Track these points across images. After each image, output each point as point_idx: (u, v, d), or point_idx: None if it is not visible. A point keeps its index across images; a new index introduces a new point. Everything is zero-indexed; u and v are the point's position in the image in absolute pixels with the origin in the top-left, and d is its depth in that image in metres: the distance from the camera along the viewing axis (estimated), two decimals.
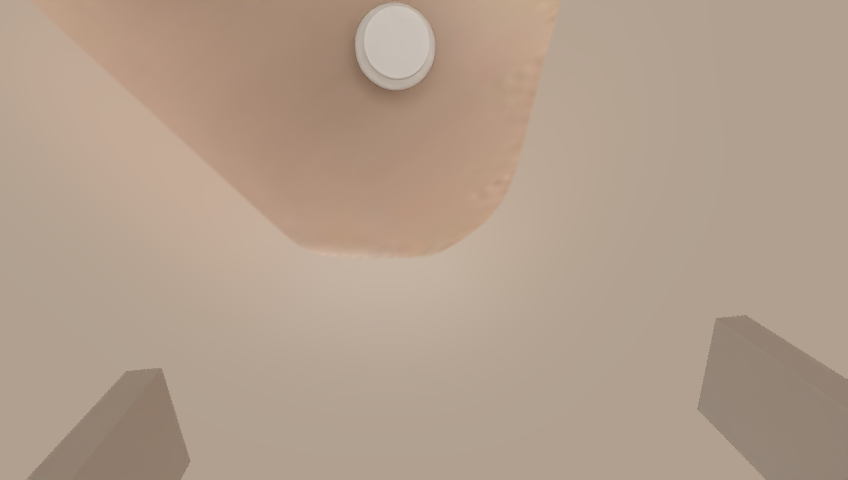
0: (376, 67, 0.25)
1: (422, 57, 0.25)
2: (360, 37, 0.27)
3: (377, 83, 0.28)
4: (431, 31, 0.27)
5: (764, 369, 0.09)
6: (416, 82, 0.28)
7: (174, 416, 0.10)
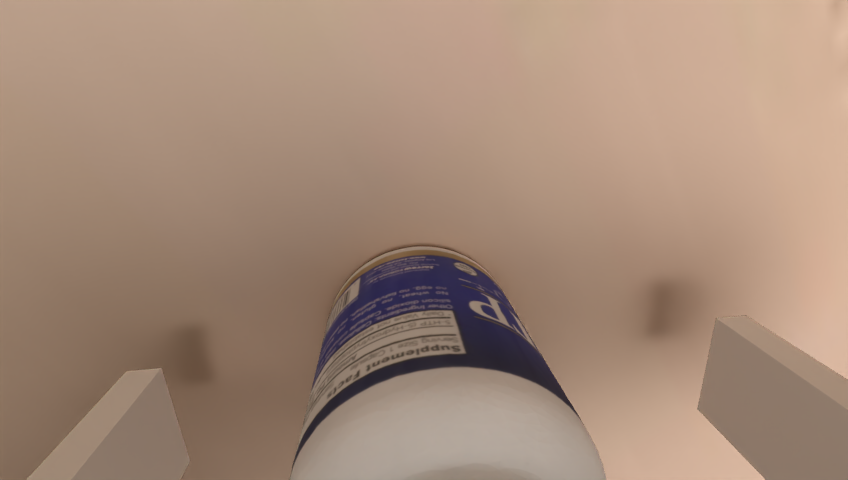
0: None
1: None
2: None
3: None
4: (393, 419, 0.06)
5: (764, 369, 0.09)
6: (596, 459, 0.06)
7: (173, 416, 0.10)
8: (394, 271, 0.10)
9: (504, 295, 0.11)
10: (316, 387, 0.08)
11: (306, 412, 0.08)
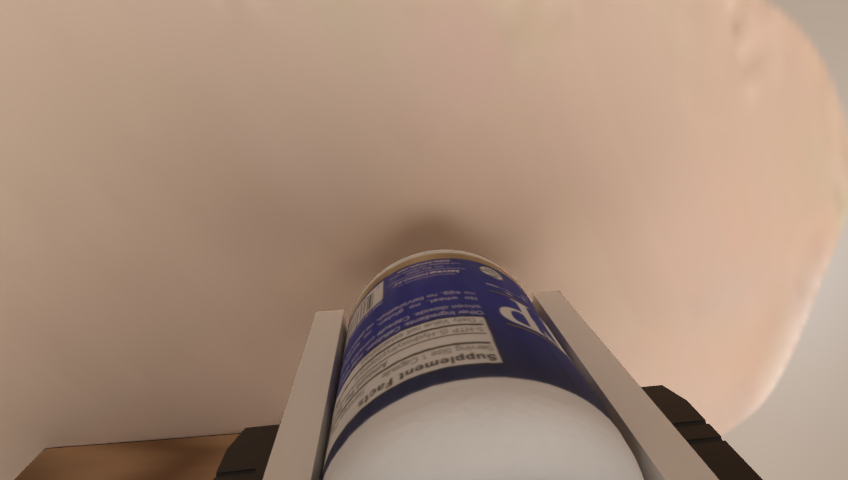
0: None
1: None
2: None
3: None
4: (432, 431, 0.06)
5: None
6: (638, 475, 0.06)
7: None
8: (419, 274, 0.10)
9: (529, 300, 0.11)
10: (344, 394, 0.08)
11: (333, 419, 0.08)
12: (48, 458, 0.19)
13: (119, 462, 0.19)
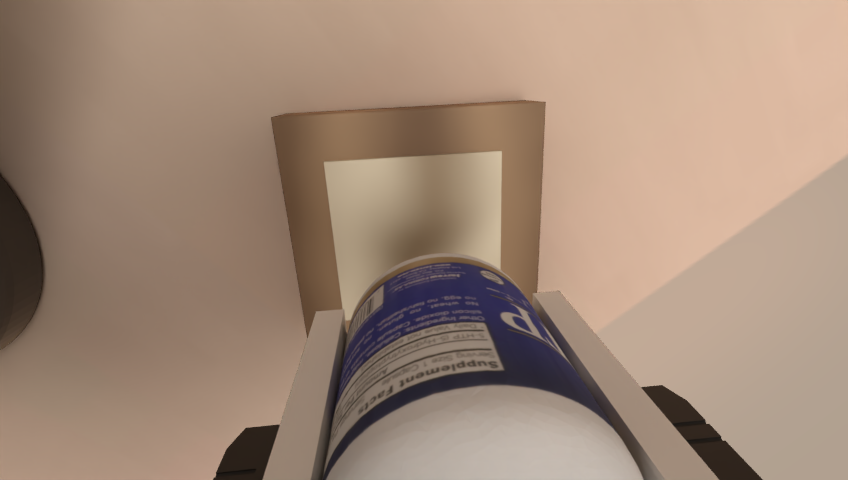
0: None
1: None
2: None
3: None
4: (433, 440, 0.05)
5: (551, 333, 0.11)
6: None
7: None
8: (419, 279, 0.10)
9: (530, 304, 0.11)
10: (344, 400, 0.08)
11: (333, 426, 0.08)
12: (296, 113, 0.21)
13: (369, 109, 0.20)
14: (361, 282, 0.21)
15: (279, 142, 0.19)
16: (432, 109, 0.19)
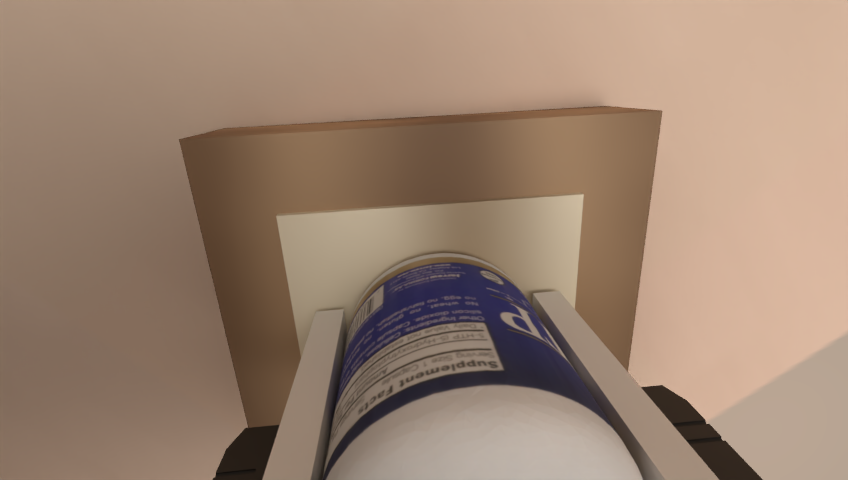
0: None
1: None
2: None
3: None
4: (433, 440, 0.06)
5: (551, 333, 0.11)
6: None
7: None
8: (419, 279, 0.10)
9: (530, 304, 0.11)
10: (344, 400, 0.08)
11: (333, 426, 0.08)
12: (238, 129, 0.12)
13: (357, 123, 0.12)
14: None
15: (197, 183, 0.11)
16: (466, 124, 0.11)
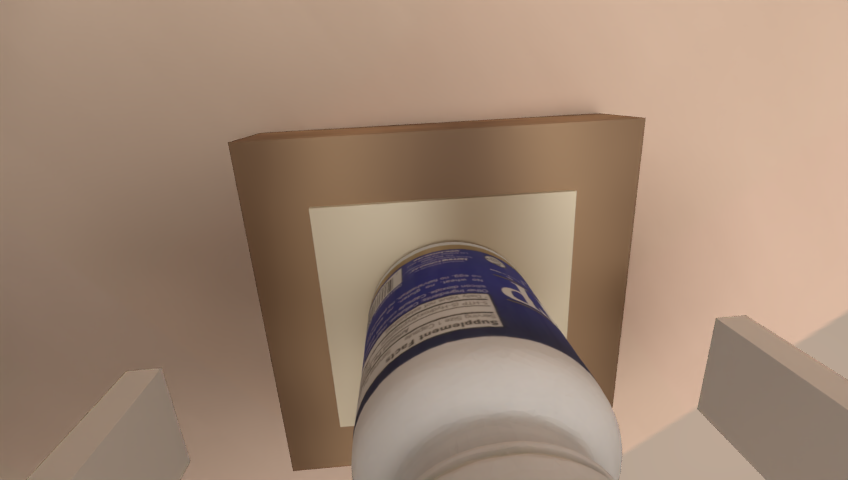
0: None
1: None
2: None
3: None
4: (447, 374, 0.07)
5: (764, 369, 0.09)
6: (612, 416, 0.08)
7: (174, 416, 0.10)
8: (433, 262, 0.11)
9: None
10: (371, 357, 0.09)
11: (363, 377, 0.09)
12: (273, 133, 0.14)
13: (377, 128, 0.14)
14: None
15: (241, 180, 0.12)
16: (473, 129, 0.12)
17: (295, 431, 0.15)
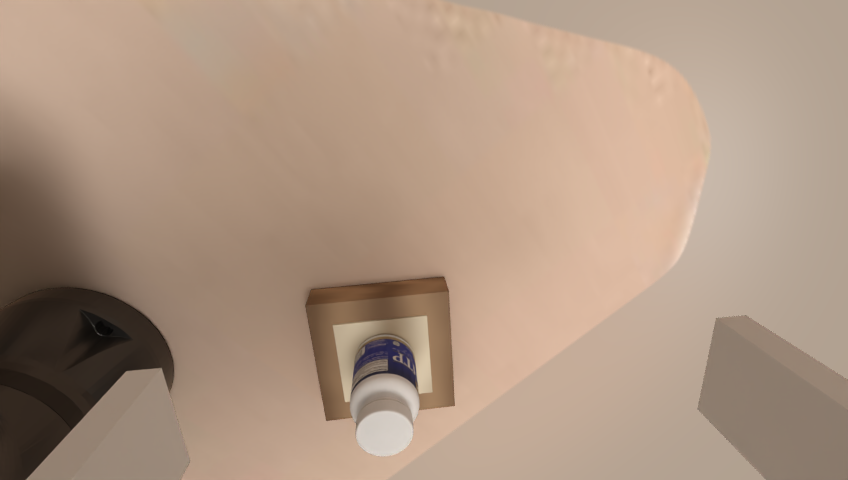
0: (404, 447, 0.30)
1: (395, 416, 0.29)
2: None
3: None
4: (371, 383, 0.31)
5: (764, 369, 0.09)
6: (413, 392, 0.31)
7: (174, 416, 0.10)
8: (375, 345, 0.35)
9: (409, 350, 0.36)
10: (354, 378, 0.33)
11: (352, 384, 0.33)
12: (317, 292, 0.38)
13: (356, 290, 0.37)
14: None
15: (309, 316, 0.36)
16: (389, 297, 0.36)
17: (327, 404, 0.39)
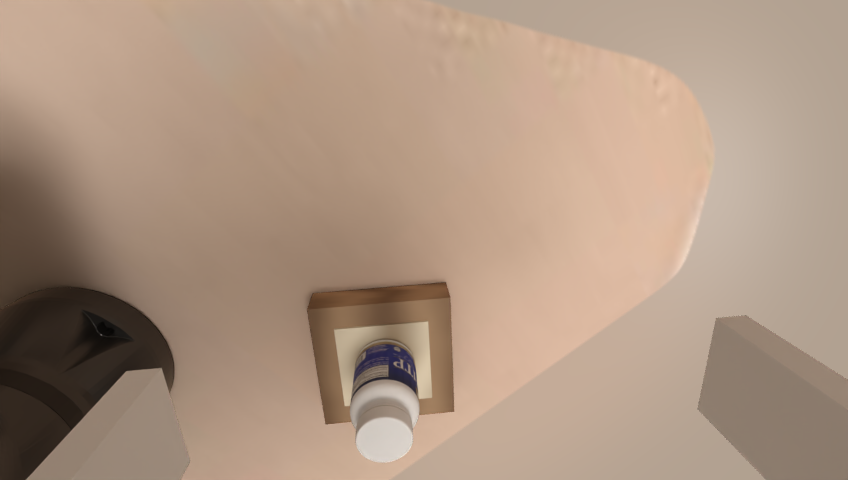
0: (403, 454, 0.30)
1: (396, 423, 0.29)
2: None
3: (413, 426, 0.32)
4: (372, 389, 0.31)
5: (764, 369, 0.09)
6: (413, 398, 0.31)
7: (174, 416, 0.10)
8: (375, 350, 0.35)
9: (409, 356, 0.36)
10: (355, 383, 0.33)
11: (353, 389, 0.33)
12: (318, 295, 0.38)
13: (358, 295, 0.37)
14: None
15: (311, 320, 0.36)
16: (390, 302, 0.36)
17: (326, 408, 0.39)
